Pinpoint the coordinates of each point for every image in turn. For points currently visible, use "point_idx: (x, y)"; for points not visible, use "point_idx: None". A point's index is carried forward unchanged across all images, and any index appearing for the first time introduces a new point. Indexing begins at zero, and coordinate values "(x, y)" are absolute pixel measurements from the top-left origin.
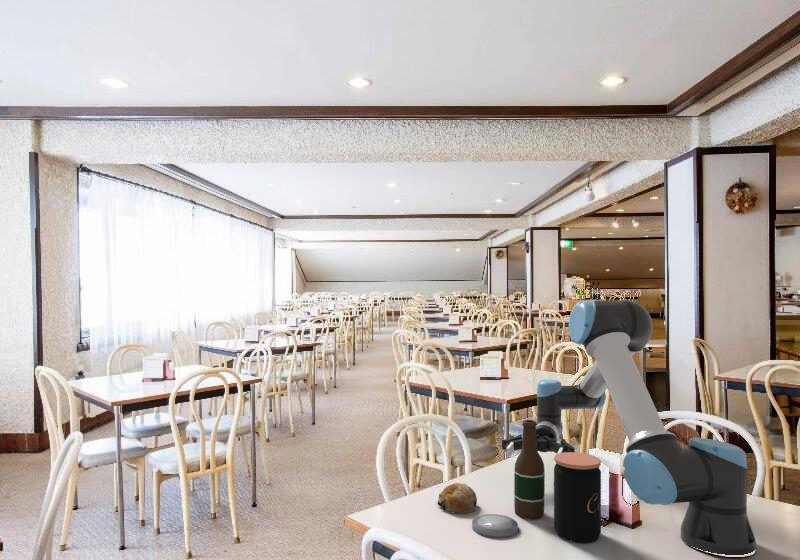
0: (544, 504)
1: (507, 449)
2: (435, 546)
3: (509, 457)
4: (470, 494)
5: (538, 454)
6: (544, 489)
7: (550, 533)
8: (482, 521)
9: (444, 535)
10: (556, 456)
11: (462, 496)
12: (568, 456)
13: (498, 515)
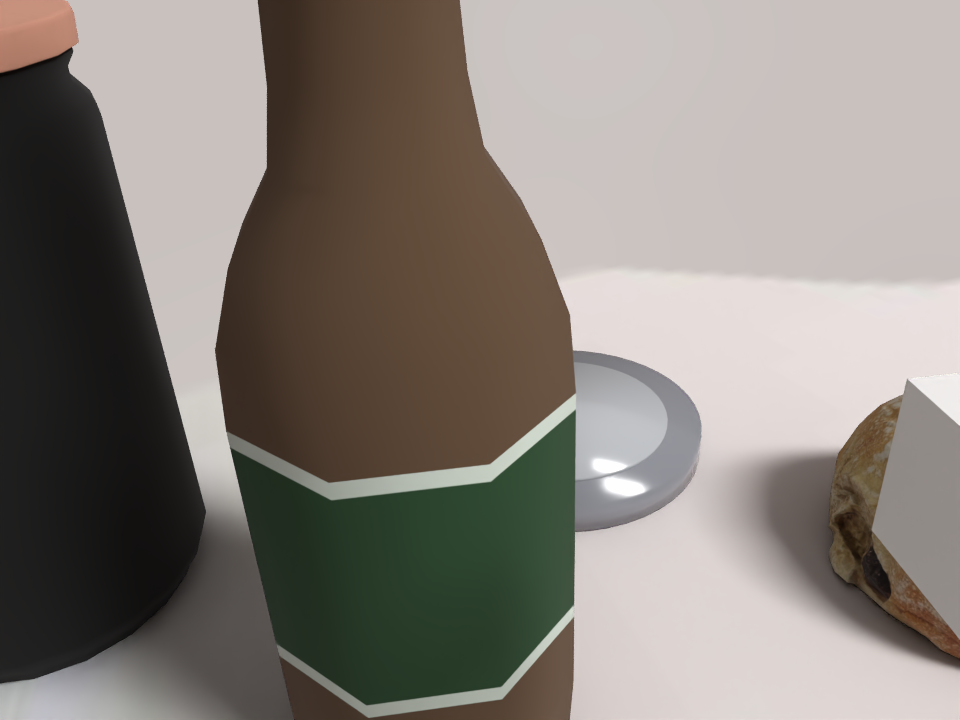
0: (291, 705)
1: (928, 393)
2: (678, 273)
3: (897, 559)
4: (882, 450)
5: (260, 187)
6: (265, 592)
7: (235, 518)
8: (627, 397)
9: (717, 322)
10: (46, 9)
11: (886, 403)
12: None
13: (598, 493)
